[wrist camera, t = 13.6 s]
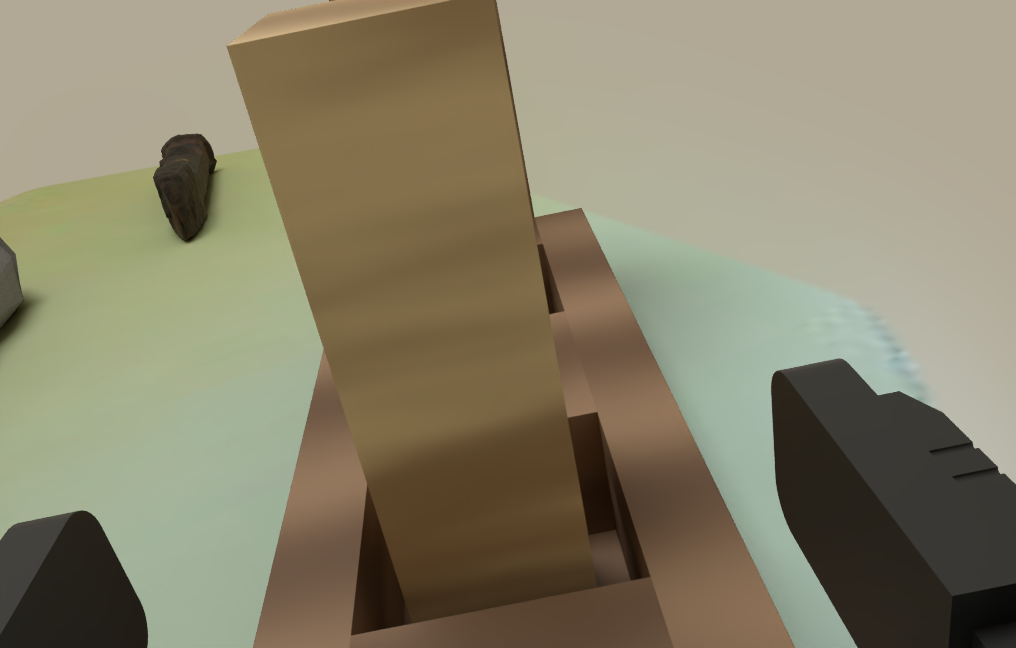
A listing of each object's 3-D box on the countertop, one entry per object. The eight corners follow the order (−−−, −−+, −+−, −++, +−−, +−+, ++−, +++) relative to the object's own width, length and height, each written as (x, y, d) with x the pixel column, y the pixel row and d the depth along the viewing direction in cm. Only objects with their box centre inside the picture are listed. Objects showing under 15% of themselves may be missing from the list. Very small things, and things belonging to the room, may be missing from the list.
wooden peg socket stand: (816, 862, 16) (768, -1387, 5) (304, 960, 16) (-779, -1051, 5) (579, 269, 42) (488, -321, 31) (381, 309, 42) (221, -267, 31)
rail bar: (614, 682, 19) (491, -9, 13) (442, 718, 19) (226, 46, 13) (583, 561, 23) (474, -29, 16) (438, 592, 23) (268, 14, 16)
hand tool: (174, 183, 74) (154, 131, 71) (220, 171, 74) (201, 119, 72) (148, 258, 57) (121, 193, 55) (208, 241, 58) (183, 177, 55)
